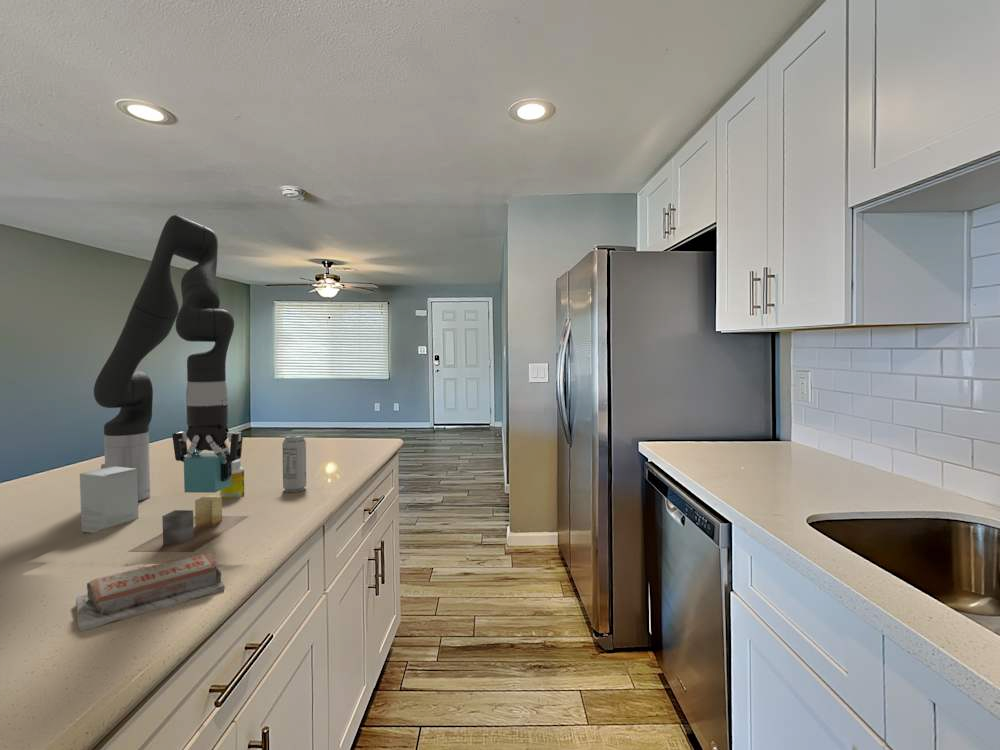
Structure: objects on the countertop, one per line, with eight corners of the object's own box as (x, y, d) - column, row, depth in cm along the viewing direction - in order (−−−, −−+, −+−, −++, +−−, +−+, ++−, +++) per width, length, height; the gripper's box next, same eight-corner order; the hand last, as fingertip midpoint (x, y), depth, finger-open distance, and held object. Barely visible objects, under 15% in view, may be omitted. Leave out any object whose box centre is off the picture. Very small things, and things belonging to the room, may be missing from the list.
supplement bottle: (246, 500, 128) (246, 461, 127) (222, 504, 124) (221, 464, 124) (241, 495, 132) (241, 457, 132) (218, 499, 129) (217, 460, 128)
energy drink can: (310, 488, 139) (310, 435, 138) (291, 493, 134) (291, 439, 133) (297, 485, 142) (297, 433, 142) (278, 490, 137) (277, 436, 137)
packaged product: (209, 545, 87) (225, 563, 79) (210, 572, 87) (225, 593, 80) (74, 576, 75) (77, 601, 67) (75, 607, 75) (78, 635, 67)
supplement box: (140, 524, 110) (138, 468, 109) (103, 536, 102) (102, 475, 102) (116, 520, 112) (115, 465, 111) (79, 531, 105) (78, 472, 104)
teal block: (184, 492, 103) (183, 459, 102) (203, 484, 109) (202, 452, 109) (215, 492, 103) (214, 459, 102) (232, 484, 109) (231, 452, 109)
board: (128, 559, 91) (127, 521, 91) (195, 522, 111) (195, 491, 111) (193, 559, 91) (192, 522, 91) (248, 522, 111) (248, 491, 111)
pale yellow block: (195, 526, 104) (194, 500, 104) (205, 520, 108) (205, 495, 108) (212, 526, 104) (212, 500, 104) (222, 520, 108) (221, 495, 108)
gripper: (161, 404, 101) (163, 485, 102) (231, 404, 101) (233, 485, 102) (184, 400, 109) (186, 476, 110) (250, 401, 109) (251, 476, 110)
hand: (209, 480), depth 106 cm, fingers closed on teal block, 6 cm apart
